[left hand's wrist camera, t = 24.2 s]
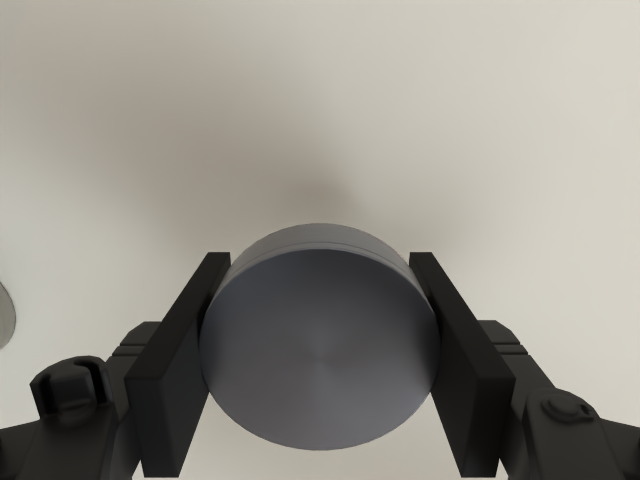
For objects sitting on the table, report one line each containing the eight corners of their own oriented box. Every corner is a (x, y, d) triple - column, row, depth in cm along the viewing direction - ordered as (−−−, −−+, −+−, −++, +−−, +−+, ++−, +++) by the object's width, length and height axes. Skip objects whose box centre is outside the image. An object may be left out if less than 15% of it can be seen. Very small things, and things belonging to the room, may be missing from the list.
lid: (345, 433, 14) (349, 481, 12) (178, 346, 13) (156, 387, 11) (468, 296, 12) (493, 331, 10) (286, 178, 11) (280, 195, 9)
